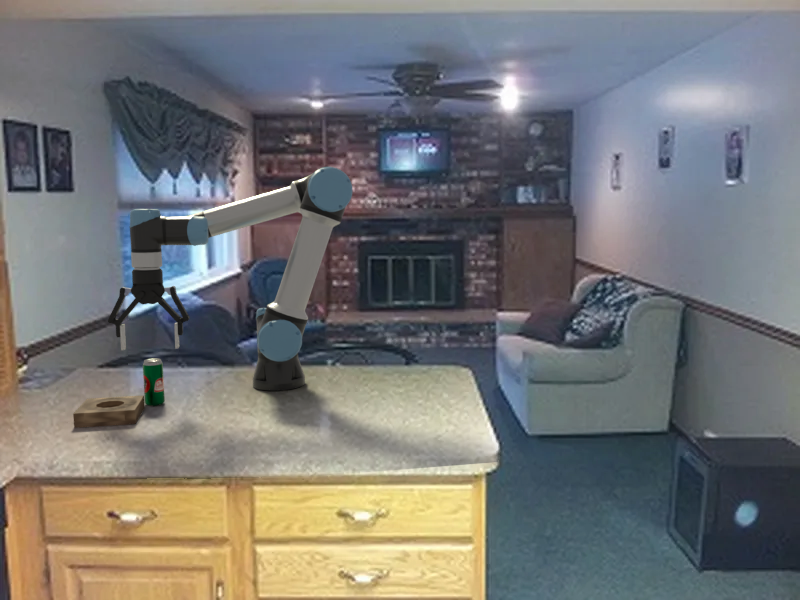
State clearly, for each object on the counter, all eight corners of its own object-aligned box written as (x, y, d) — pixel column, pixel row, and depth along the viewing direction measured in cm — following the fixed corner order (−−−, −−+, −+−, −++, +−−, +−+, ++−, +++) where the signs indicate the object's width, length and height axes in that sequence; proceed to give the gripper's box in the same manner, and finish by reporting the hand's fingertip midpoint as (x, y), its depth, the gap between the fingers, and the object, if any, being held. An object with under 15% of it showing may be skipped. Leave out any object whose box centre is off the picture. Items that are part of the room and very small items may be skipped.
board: (144, 408, 191) (144, 395, 191) (135, 424, 178) (134, 410, 177) (88, 411, 189) (87, 398, 188) (74, 427, 175) (73, 413, 175)
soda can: (158, 407, 193) (156, 362, 191) (141, 406, 194) (138, 361, 192) (168, 402, 198) (166, 358, 196) (151, 401, 199) (148, 357, 197)
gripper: (197, 266, 197) (200, 344, 200) (99, 267, 192) (103, 347, 195) (195, 268, 190) (198, 349, 192) (93, 270, 185) (97, 352, 188)
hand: (150, 348), depth 194 cm, fingers open, 13 cm apart
